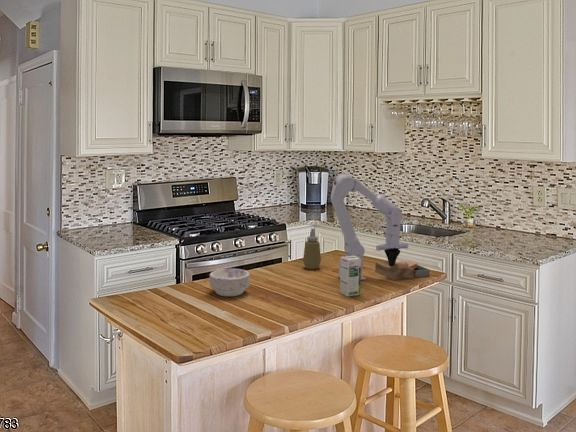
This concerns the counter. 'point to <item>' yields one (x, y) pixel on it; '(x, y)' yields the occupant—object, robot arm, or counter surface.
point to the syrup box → (350, 276)
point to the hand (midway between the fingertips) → (391, 265)
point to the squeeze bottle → (312, 252)
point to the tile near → (401, 265)
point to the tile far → (412, 264)
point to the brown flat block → (394, 271)
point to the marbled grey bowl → (229, 281)
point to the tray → (420, 272)
